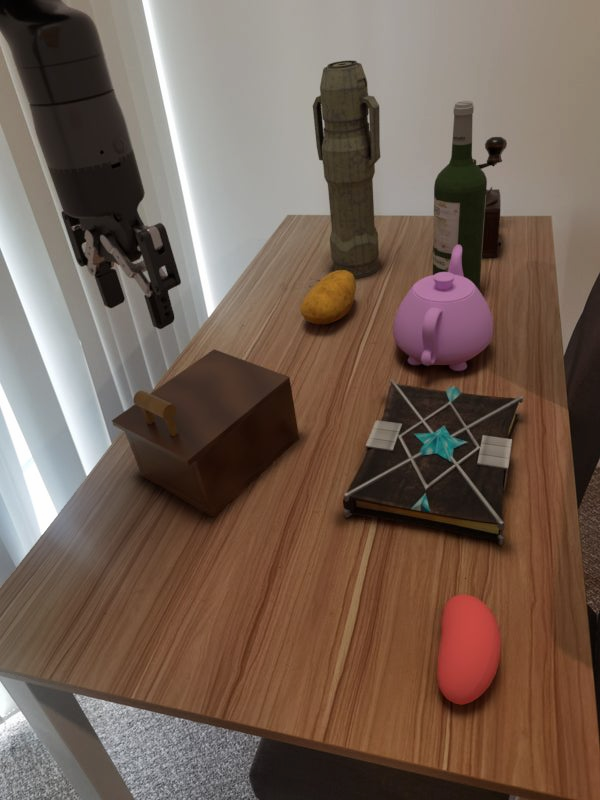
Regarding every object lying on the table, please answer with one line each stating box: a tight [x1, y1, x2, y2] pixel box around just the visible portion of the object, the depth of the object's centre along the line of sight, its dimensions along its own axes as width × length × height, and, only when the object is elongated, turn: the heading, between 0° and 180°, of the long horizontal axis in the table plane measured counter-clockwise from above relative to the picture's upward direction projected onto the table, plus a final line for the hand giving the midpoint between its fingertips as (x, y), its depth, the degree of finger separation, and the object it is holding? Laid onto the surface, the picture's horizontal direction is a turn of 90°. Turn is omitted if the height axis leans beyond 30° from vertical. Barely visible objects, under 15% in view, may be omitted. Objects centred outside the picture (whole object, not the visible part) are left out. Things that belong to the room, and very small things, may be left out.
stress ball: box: [436, 593, 502, 706], centre depth 51 cm, size 5×9×6 cm, turn 153°
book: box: [342, 379, 524, 546], centre depth 70 cm, size 22×17×5 cm
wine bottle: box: [432, 100, 488, 291], centre depth 94 cm, size 8×8×30 cm
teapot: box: [392, 245, 494, 372], centre depth 86 cm, size 20×14×12 cm
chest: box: [124, 381, 300, 518], centre depth 74 cm, size 16×13×9 cm
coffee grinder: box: [473, 136, 508, 259], centre depth 113 cm, size 16×11×18 cm
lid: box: [111, 349, 291, 466], centre depth 70 cm, size 17×13×5 cm
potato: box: [299, 270, 357, 325], centre depth 100 cm, size 8×14×7 cm, turn 152°
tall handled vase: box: [312, 59, 381, 280], centre depth 105 cm, size 9×12×35 cm
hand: (139, 314), depth 62 cm, fingers open, 8 cm apart
